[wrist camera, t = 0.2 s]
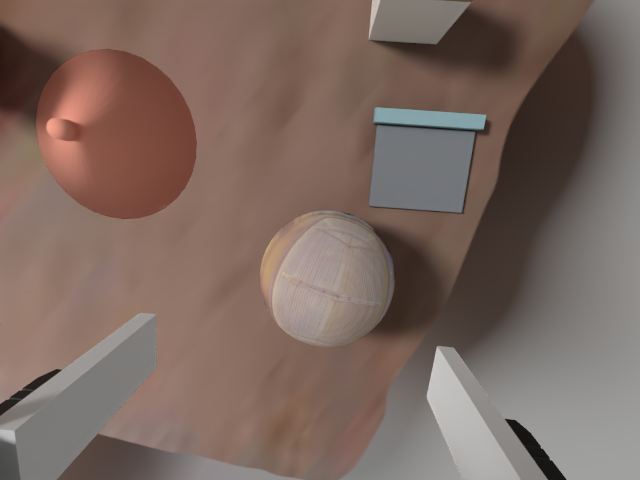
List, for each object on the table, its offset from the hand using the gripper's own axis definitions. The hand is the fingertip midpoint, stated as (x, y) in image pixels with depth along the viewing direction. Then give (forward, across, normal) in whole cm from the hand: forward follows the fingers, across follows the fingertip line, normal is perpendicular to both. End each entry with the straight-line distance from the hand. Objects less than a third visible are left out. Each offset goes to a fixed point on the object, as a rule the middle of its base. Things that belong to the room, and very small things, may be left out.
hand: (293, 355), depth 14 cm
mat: (+28, +12, +10) cm, 32 cm away
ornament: (+28, +2, -3) cm, 28 cm away
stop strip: (+28, +12, +16) cm, 34 cm away
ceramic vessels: (+28, -33, +13) cm, 46 cm away
